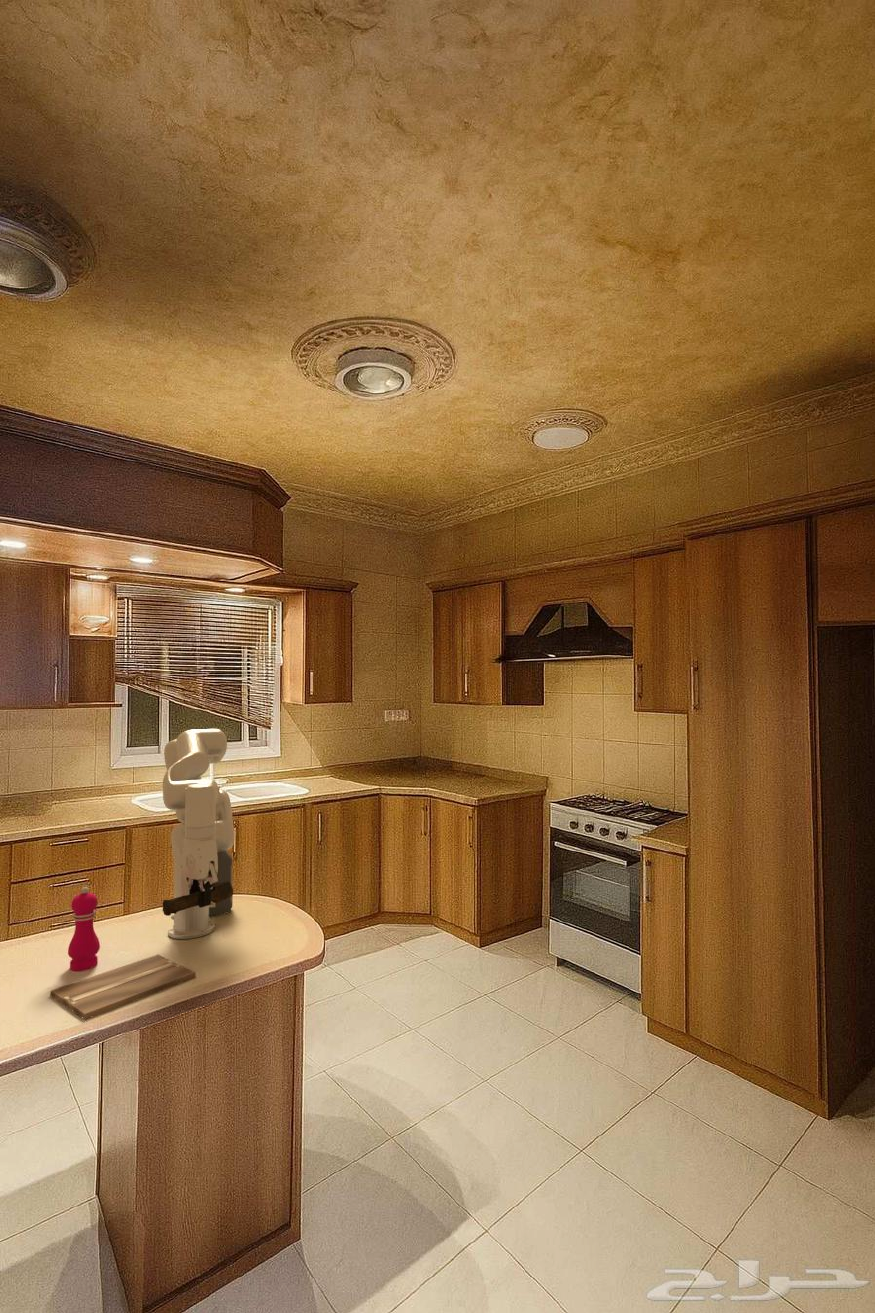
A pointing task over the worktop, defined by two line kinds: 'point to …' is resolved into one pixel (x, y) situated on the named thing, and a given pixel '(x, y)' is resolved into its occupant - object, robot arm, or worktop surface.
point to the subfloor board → (121, 985)
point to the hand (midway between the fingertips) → (200, 904)
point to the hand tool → (197, 898)
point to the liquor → (223, 875)
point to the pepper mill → (84, 932)
